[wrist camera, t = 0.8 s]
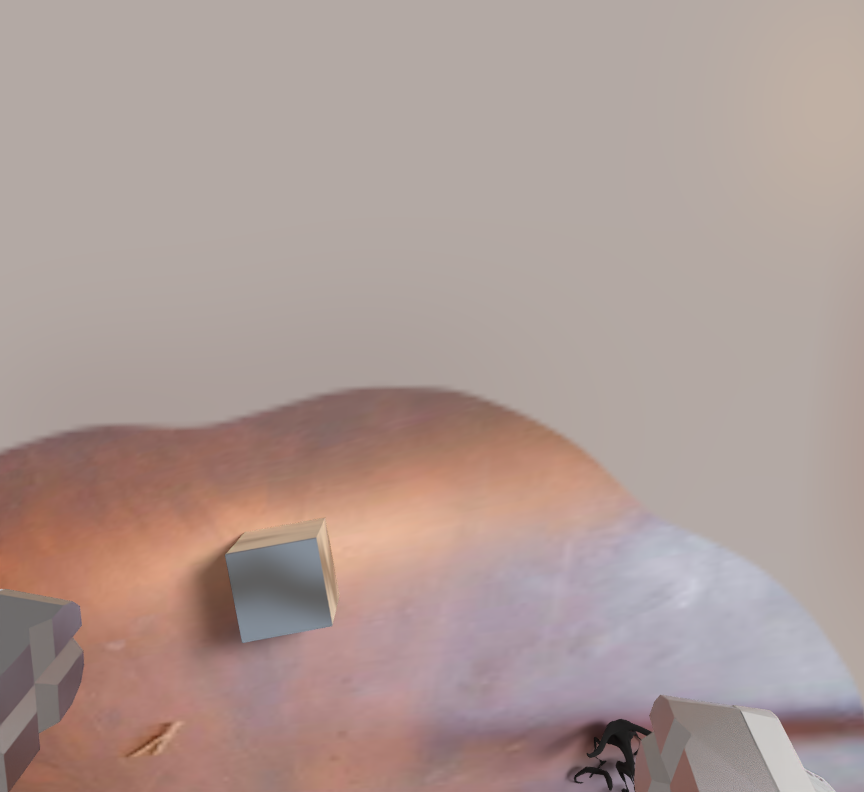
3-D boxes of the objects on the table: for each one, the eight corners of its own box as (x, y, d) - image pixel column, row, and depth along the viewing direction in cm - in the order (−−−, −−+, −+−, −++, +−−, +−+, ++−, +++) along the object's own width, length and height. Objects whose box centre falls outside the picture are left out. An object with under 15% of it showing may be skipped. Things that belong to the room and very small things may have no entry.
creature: (669, 770, 55) (658, 689, 53) (701, 829, 50) (690, 742, 47) (575, 795, 55) (559, 715, 52) (597, 857, 49) (581, 771, 47)
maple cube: (339, 594, 52) (332, 626, 46) (260, 609, 51) (242, 642, 45) (325, 517, 51) (315, 538, 45) (245, 531, 51) (225, 555, 45)
